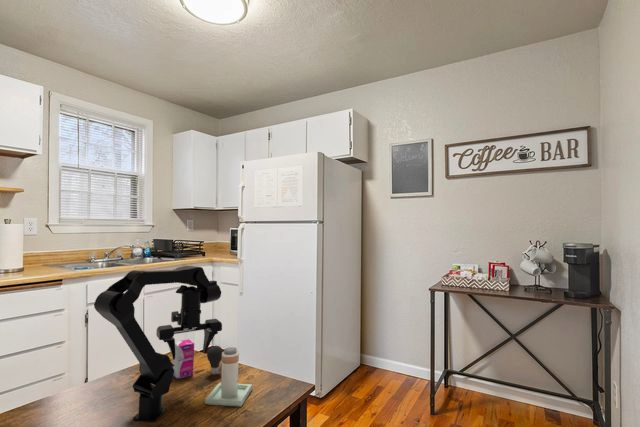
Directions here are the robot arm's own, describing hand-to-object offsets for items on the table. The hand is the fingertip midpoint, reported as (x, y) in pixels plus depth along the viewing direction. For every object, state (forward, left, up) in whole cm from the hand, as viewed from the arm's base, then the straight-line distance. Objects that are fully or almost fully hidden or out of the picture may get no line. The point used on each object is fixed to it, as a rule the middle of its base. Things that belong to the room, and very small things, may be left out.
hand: (189, 356), depth 108 cm
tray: (+1, -13, -12) cm, 18 cm away
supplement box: (+14, +9, -12) cm, 21 cm away
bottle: (+1, -13, -12) cm, 17 cm away
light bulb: (+16, -2, -12) cm, 20 cm away
